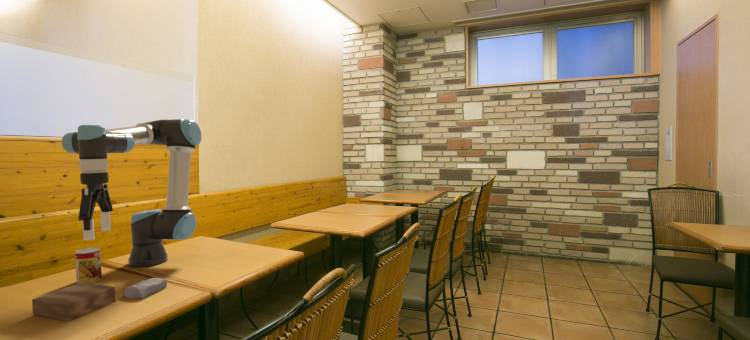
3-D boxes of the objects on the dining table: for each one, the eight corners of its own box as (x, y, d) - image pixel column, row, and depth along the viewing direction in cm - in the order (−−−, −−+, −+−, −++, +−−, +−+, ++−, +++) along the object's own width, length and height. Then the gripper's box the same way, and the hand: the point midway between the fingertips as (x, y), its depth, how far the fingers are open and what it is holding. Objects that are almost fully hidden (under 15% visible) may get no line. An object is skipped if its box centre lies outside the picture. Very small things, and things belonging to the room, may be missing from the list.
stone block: (120, 302, 132) (144, 299, 130) (117, 289, 132) (142, 285, 130) (147, 291, 143) (170, 287, 141) (145, 278, 143) (167, 274, 141)
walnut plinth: (82, 296, 132) (81, 282, 132) (115, 301, 128) (114, 286, 128) (33, 315, 118) (32, 299, 118) (68, 321, 114) (67, 304, 113)
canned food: (104, 280, 148) (102, 250, 147) (78, 285, 142) (76, 254, 142) (99, 275, 154) (97, 246, 153) (75, 280, 148) (73, 250, 147)
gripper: (96, 169, 137) (100, 227, 138) (61, 175, 113) (66, 245, 115) (120, 169, 139) (124, 226, 141) (91, 174, 115) (95, 243, 117)
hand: (98, 235), depth 128 cm, fingers open, 13 cm apart
